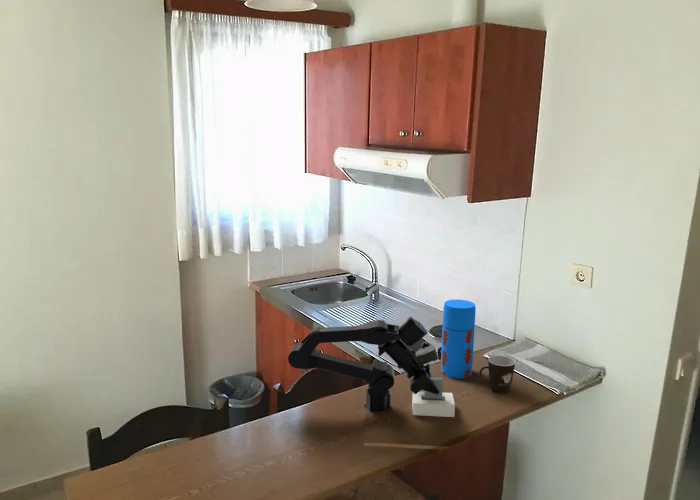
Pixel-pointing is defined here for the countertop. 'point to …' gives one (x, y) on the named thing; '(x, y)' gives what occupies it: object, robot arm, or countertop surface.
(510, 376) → the coffee mug
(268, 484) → the countertop surface
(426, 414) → the slot box
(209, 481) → the countertop surface
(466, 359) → the thermos
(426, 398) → the grey rectangular block
